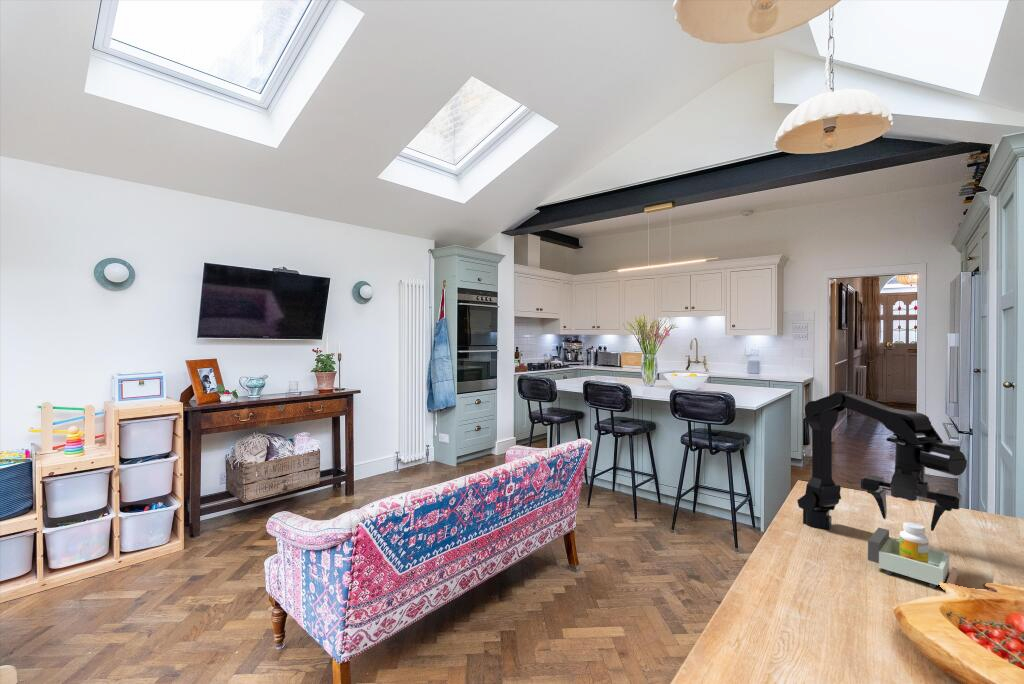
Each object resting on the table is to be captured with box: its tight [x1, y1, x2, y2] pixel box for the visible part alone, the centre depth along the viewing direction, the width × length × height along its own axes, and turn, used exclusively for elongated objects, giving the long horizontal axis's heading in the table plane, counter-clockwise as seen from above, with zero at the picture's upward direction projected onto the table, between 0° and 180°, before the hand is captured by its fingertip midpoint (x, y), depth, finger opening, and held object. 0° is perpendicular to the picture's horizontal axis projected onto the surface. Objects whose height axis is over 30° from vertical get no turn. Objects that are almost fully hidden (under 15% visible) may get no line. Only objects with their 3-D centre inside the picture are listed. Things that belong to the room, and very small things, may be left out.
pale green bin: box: [867, 527, 950, 590], centre depth 114 cm, size 14×12×7 cm
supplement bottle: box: [899, 521, 930, 564], centre depth 113 cm, size 5×5×10 cm
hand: (907, 524), depth 116 cm, fingers open, 9 cm apart
